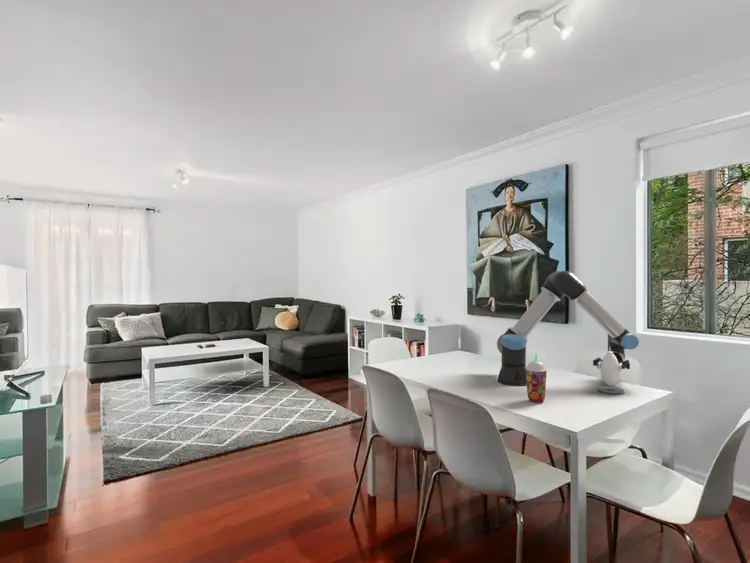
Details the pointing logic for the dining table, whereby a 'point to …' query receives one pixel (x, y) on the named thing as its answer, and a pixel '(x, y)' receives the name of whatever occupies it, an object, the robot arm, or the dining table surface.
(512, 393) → the dining table surface
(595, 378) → the dining table surface
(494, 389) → the dining table surface
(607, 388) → the hub disc
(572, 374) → the dining table surface
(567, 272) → the robot arm
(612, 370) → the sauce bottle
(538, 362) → the smoothie
